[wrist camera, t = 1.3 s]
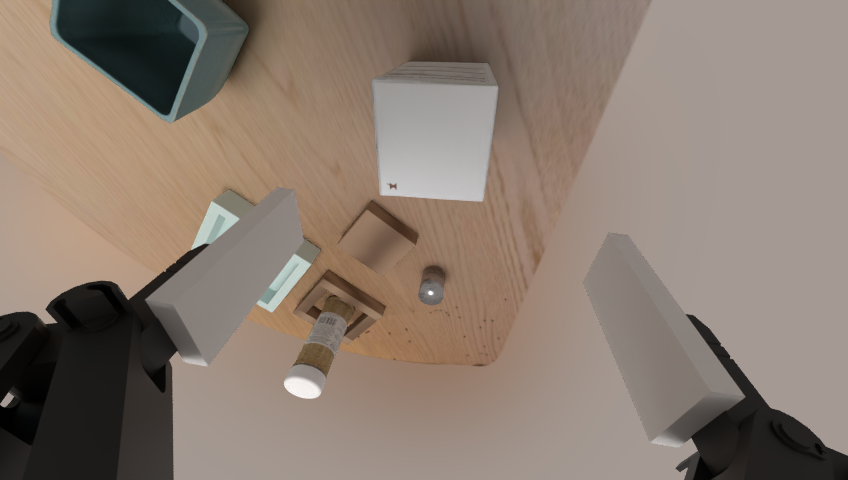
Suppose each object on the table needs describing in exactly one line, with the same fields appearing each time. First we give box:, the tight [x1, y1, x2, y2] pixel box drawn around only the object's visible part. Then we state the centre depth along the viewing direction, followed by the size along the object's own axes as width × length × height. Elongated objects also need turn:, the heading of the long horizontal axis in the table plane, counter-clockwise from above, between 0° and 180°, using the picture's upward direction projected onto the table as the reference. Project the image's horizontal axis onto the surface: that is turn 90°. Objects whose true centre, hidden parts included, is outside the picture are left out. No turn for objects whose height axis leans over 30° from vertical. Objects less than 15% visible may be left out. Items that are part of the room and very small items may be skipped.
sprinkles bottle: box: [284, 296, 354, 399], centre depth 42 cm, size 5×5×14 cm
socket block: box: [293, 270, 385, 345], centre depth 47 cm, size 10×10×2 cm
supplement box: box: [371, 62, 498, 201], centre depth 24 cm, size 7×7×13 cm
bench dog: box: [418, 266, 445, 305], centre depth 40 cm, size 3×3×4 cm
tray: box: [191, 189, 321, 312], centre depth 42 cm, size 13×13×3 cm
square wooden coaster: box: [337, 201, 418, 277], centre depth 38 cm, size 7×7×2 cm
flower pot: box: [50, 0, 249, 123], centre depth 24 cm, size 9×9×9 cm
